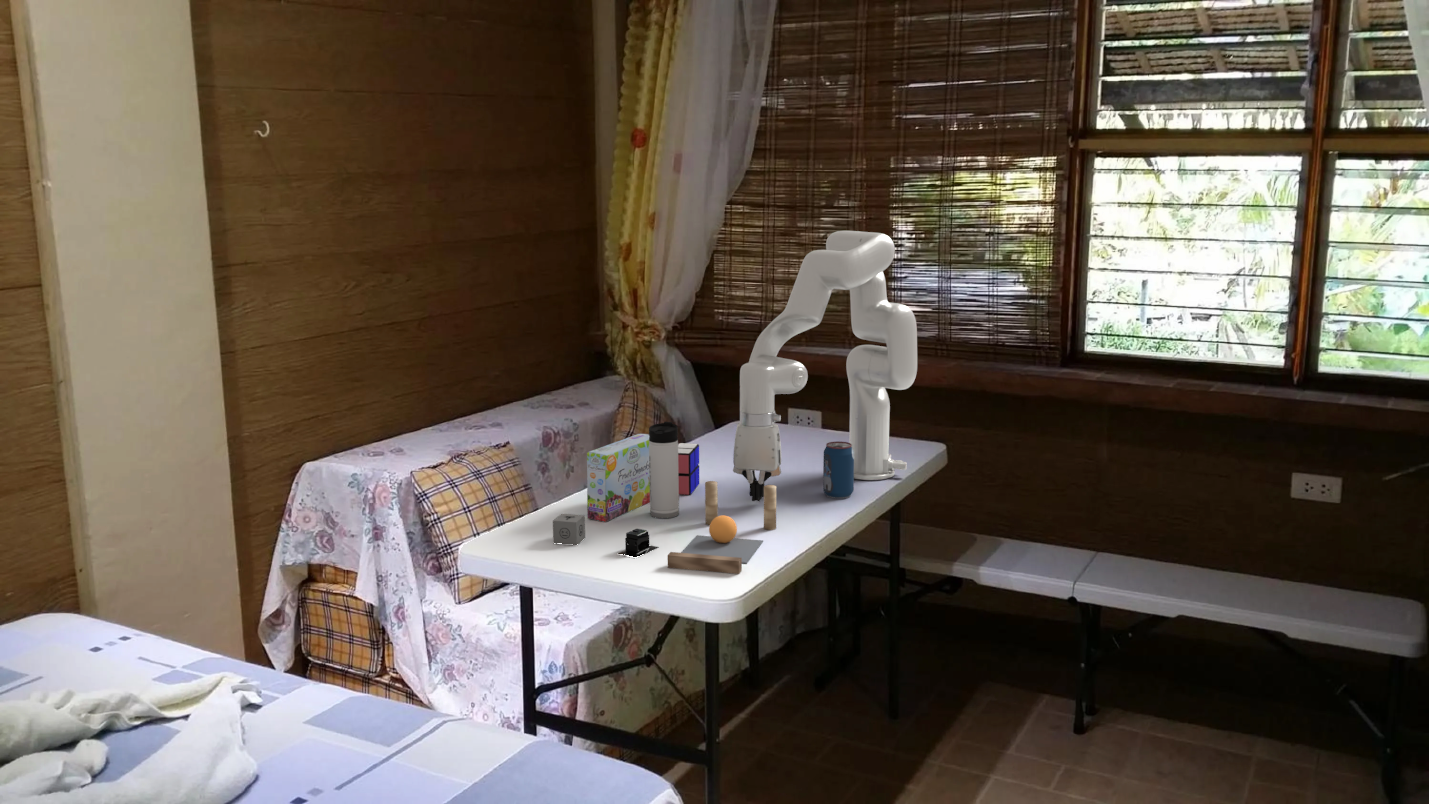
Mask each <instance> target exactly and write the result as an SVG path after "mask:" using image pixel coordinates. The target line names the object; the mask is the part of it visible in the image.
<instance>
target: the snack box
mask: <svg viewBox="0 0 1429 804" xmlns="http://www.w3.org/2000/svg"><path fill="white" fill-rule="evenodd" d="M649 437H650V436H649V433H637V434H634V435H632V436H629V437H627V438H623V439H621V440H617V441H614V442H612V443H609V444H607V445H604V446H601V447H599V448H596V449H593V450H589V451H588V452H586V467H587V468H586V474H587V475H586V478H587V479H586V481H587V483H586V484H587V485H586V487H587V488H586V489H587V492H586V494H587V498H586V499H587V501H586V502H587V503H586V504H587V506H586V508H587V513H586V514H587V515H586V516H587V519H588V520H593V519H594V521H597V520H599V521H598V522H602V521H604V522H603V523H607V522H609V521H612V520H614V519H615V517H616V518H617V517H620V516H622V514H623V515H624V514H627V513H630V512H631V510H632V511H633V510H636V509H638V508H640V506H641V507H642V506H645V505H647V504H650V475H649Z"/></svg>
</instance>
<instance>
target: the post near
mask: <svg viewBox="0 0 1429 804" xmlns="http://www.w3.org/2000/svg"><path fill="white" fill-rule="evenodd" d="M763 529H764V530H766V531H768V530H769V531H773V530H774V531H775V530H776V529H777V485H774V484H767V485H765V484H764V497H763Z"/></svg>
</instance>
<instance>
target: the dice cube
mask: <svg viewBox="0 0 1429 804" xmlns="http://www.w3.org/2000/svg"><path fill="white" fill-rule="evenodd" d="M585 516H586V515H585V514H574V513H573V514H572V513H560V514H559V515H558V516H557V517H555V518H554V519H553V520H552V536H553V537H552V539H553V542H554V543H562V544H573V545H577V544H578V545H579V544H581V543H582V542H583V541H584V540H585V539H586V519H585ZM584 538H585V539H584ZM583 539H584V540H583ZM582 540H583V541H582ZM581 541H582V542H581ZM580 542H581V543H580ZM554 543H553V544H554ZM573 545H572V546H573ZM578 545H577V546H578Z"/></svg>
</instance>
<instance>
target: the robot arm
mask: <svg viewBox="0 0 1429 804" xmlns="http://www.w3.org/2000/svg"><path fill="white" fill-rule="evenodd" d="M895 247H896V246H895V244H894V241H893V239H892V238H891V237H890V236H889V235H887V234H885V233H881V232H873V231H870V232H868V231H859V230H857V231H856V230H837V231H835V232H832V233H830V234H829V235H828V237H827V239H826V243H825V249H817V250H812V251H810V252H809V253H807V254H806V255H805V257H804V258H803V260H802V263H801V265H800V268H799V271H798V273H797V276H796V279H795V282H794V284H793V286H792V290H791V293H790V295H789V298H788V300H787V301H788V302H787V304H786V306H785V308H784V310H783V311H782V312H781V313H780V314H778V315H777V316H776V317H775V318H774V319H773V320H772V321H771V322H770V323H769V324H768V325H767V326H766V327H765V328H764V329H763V330H762V331H761V333H760V334H759V336H758V337H757V339H756V341H755V343H754V345H753V349H752V352H751V354H750V357H749V361H748V362H746V363H744V364H742V365H741V367H740V370H739V423H737V424H736V430H735V434H734V435H735V436H734V445H733V455H732V456H733V457H732V458H733V459H732V460H733V469H732V472H733V473H734V474H738V475H741V476H743V477H744V478H745V479H746V481H747V482H748V484H749V497H751V501H752V502H755V501H756V502H760V501H761V500H762V499H763V498H764V486H765V482H766V481H767V480H768V479H770V477H771V478H772V477H777V476H780V475H781V474H782V470H781V464H782V446H781V445H782V443H781V432H780V429H779V425H778V424H777V423H776V422H781V419H782V418H781V417H782V416H781V414H777V412H776V410H775V395H781V394H783V395H786V394H787V395H790V394H795V393H798V392H799V391H801V390H802V389H804V388H805V386H806V384H807V381H808V378H809V375H808V370H807V368H806V366H805V365H804V364H803V363H802V362H800V361H797V360H794V359H790V358H783V357H780V356H779V357H778V356H777V355H778V354H779V351H780V350H781V348H782V347H783V346H784V344H785V343H786V342H788V341H789V340H790V339H791V338H793V337H795V336H797V335H798V334H799V335H800V334H801V333H803V332H806V331H809V330H810V329H813V328H815V327H817V326H818V325H820V324H821V322H822V321H823V317H824V315H825V312H826V308H827V307H828V306H827V305H828V303H829V301H830V297H831V295H832V292H833V290H845V291H849V296H850V297H849V299H850V319H851V320H850V321H851V329H852V333H853V334H854V335H855V337H856V338H858V339H861V340H864V341H865V340H866V341H869V342H874V343H875V342H877V343H883V344H886V346H882V345H881V346H880V345H877V344H876V345H875V344H861V345H857V346H855V347H854V348H852V349H851V351H850V352H849V353H848V354H847V358H846V364H845V365H846V366H845V368H846V375H847V379H848V386H849V437H848V438H849V442H848V443H851V444H852V446H851V447H852V449H853V451H854V480H860V481H862V480H863V481H877V480H878V481H879V480H886V479H890V478H892V477H894V476H895V473H896V472H895V470H901V471H906V470H907V466H908V465H907V464H908V463H907V461H904V460H901V459H897V460H894V458H892V453H889V452H890V451H889V450H890V449H889V448H890V447H889V446H890V445H889V443H890V412H891V406H890V405H891V403H890V398H889V394H888V391H887V389H891V390H897V391H902V390H907V389H909V388H910V387H912V385H913V384H914V382H915V379H916V377H917V374H918V373H917V372H918V328H917V318H916V316H915V314H914V312H913V310H912V309H911V308H910V307H909V306H907V305H905V304H902V303H898V302H889V301H888V297H887V296H888V295H887V294H888V293H887V282H886V277H885V274H884V271H885V270H886V269H888V268H889V266H890V265H891V264H892V262H893V260H894V257H895V254H896V253H895V252H896V251H895V250H896V249H895ZM756 471H759V476H758V480H757V475H756Z"/></svg>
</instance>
